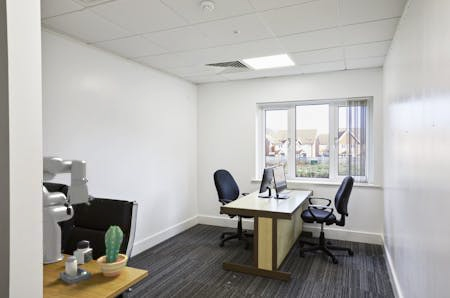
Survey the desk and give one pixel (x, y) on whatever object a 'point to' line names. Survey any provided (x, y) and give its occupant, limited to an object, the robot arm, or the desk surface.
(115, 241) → the potted cactus
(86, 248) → the medicine bottle
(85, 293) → the desk surface
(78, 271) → the tray
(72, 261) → the shaker
